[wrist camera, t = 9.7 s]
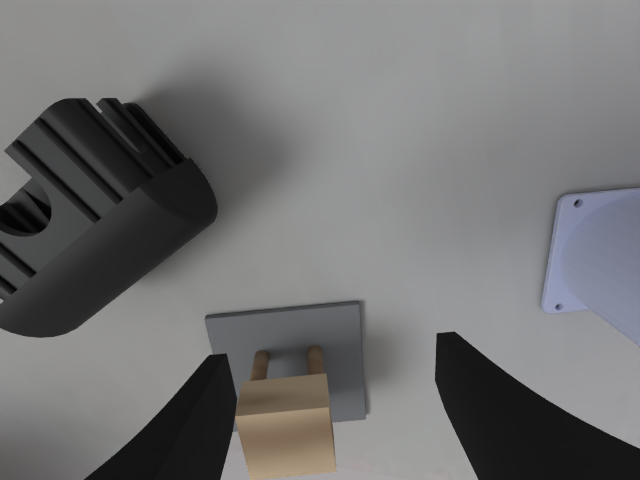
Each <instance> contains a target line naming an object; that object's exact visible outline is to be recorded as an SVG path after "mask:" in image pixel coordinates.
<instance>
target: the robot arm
mask: <svg viewBox="0 0 640 480" xmlns="http://www.w3.org/2000/svg"><path fill="white" fill-rule="evenodd" d="M576 200H578V203H577V204H576V205H575V206H574V203H575V201H576ZM557 304H559V305H558V306H557V307H556V305H557ZM541 308H542V310H543V311H544V312H546V313H548V314H552V313H563V312H573V311H584V310H592V311H593V312H594V313H596V314H597V315H598V316H600V317H601V318H602V319H604V320H605V321H606V322H608V323H609V324H610V325H612V326H613V327H614V328H616V329H617V330H618V331H620V332H621V333H622V334H623V335H625V336H626V337H627V338H629V339H630V340H631V341H633V342H634V343H635V344H637V345H638V346H639V347H640V187H639V188H629V189H618V190H608V191H598V192H587V193H577V194H567V195H564V196H562V197H561V198H560V199H559V200H558V203H557V209H556V215H555V222H554V228H553V234H552V240H551V246H550V252H549V259H548V265H547V271H546V277H545V283H544V290H543V296H542V302H541ZM435 382H436V385H437V388H438V391H439V394H440V397H441V400H442V403H443V405H444V408H445V411H446V413H447V415H448V417H449V419H450V421H451V423H452V425H453V428H454V430H455V432H456V434H457V436H458V438H459V440H460V442H461V444H462V446H463V448H464V451H465V453H466V455H467V457H468V459H469V461H470V463H471V465H472V467H473V469H474V471H475V473H476V475H477V478H478V480H640V449H639V448H637V447H635V446H632V445H630V444H628V443H626V442H624V441H622V440H620V439H618V438H616V437H613V436H611V435H609V434H607V433H605V432H604V431H602V430H600V429H598V428H596V427H594V426H592V425H590V424H588V423H586V422H584V421H582V420H580V419H579V418H577V417H575V416H573V415H571V414H570V413H568V412H566V411H565V410H563V409H561V408H560V407H558V406H556V405H555V404H553V403H551V402H549V401H548V400H546V399H545V398H543V397H541V396H540V395H538V394H537V393H535V392H534V391H532V390H531V389H529V388H528V387H526V386H525V385H523V384H522V383H521V382H519V381H518V380H516V379H515V378H513V377H512V376H511V375H509V374H508V373H506V372H505V371H504V370H502V369H501V368H500V367H498V366H497V365H496V364H495V363H493V362H492V361H491V360H489V359H488V358H487V357H486V356H484V355H483V354H482V353H481V352H479V351H478V350H477V349H476V348H474V347H473V346H472V345H471V344H469V343H468V342H467V341H466V340H464V339H463V338H462V337H461V336H460V335H458V334H457V333H456V332H446V333H437V341H436V368H435ZM236 406H237V395H236V391H235V386H234V382H233V378H232V373H231V369H230V365H229V361H228V356H227V353H224V354H214V355H209V356H208V357H207V358H206V359H205V360H204V361H203V363H202V364H201V365H200V366H199V367H198V368H197V370H196V371H195V372H194V373H193V374H192V376H191V377H190V378H189V379H188V380H187V382H186V383H185V384H184V385H183V386H182V387H181V389H180V390H179V391H178V392H177V393H176V394H175V395H174V396H173V398H172V399H171V400H170V401H169V402H168V403H167V404H166V405H165V406H164V408H163V409H162V410H161V411H160V412H159V413H158V414H157V415H156V416H155V417H154V418H153V419H152V420H151V421H150V422H149V423H148V424H147V425H146V426H145V427H144V428H143V429H142V430H141V431H140V432H139V433H138V434H137V435H136V436H135V437H134V438H133V439H132V440H131V441H129V442H128V443H127V444H126V445H125V446H124V447H123V448H122V449H121V450H119V451H118V452H117V453H116V454H115V455H114V456H113V457H111V458H110V459H109V460H108V461H106V462H105V463H104V464H103V465H102V466H100V467H99V468H98V469H97V470H95V471H94V472H93V473H92V474H90V475H89V476H88V477H87V478H85V479H84V480H220V479H221V475H222V471H223V467H224V463H225V460H226V456H227V452H228V448H229V444H230V440H231V436H232V432H233V428H234V421H235V414H236Z"/></svg>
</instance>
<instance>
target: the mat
mask: <svg viewBox="0 0 640 480" xmlns="http://www.w3.org/2000/svg"><path fill="white" fill-rule="evenodd" d="M205 323H206V327H207V331H208V335H209V339H210V343H211V347H212V351H213V355H214V354H224V353H227V356H228V361H229V365H230V369H231V373H232V378H233V382H234V386H235V391H236V395H237V404H238V400H239V395H240V391H241V387H242V382H245V381H250V376H251V371H252V366H253V362H254V357H255V353H256V352H257V351H259V350H265V351H267V352H268V353H269V355H270V357H269V364H268V371H267V378H266V379H275V378H285V377H295V376H305V375H308V348H309V347H310V346H311V345H319V346H320V347H321V348H322V353H323V371H324V374H325V373H326V374H327V383H328V391H329V400H330V408H331V417H332V422H342V421H353V420H363V419H366V413H365V396H364V378H363V361H362V344H361V327H360V310H359V302H358V301H354V302H344V303H333V304H323V305H312V306H302V307H291V308H281V309H271V310H260V311H250V312H239V313H229V314H218V315H208V316H206V317H205ZM236 408H237V406H236ZM235 431H238V428H237V424H236V420H235V421H234V428H233V432H235Z"/></svg>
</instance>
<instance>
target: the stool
mask: <svg viewBox="0 0 640 480" xmlns="http://www.w3.org/2000/svg"><path fill="white" fill-rule="evenodd" d="M269 357H270V355H269V353H268V352H267V351H265V350H259V351H257V352H256V353H255V357H254V362H253V366H252V371H251V376H250V381H245V382H242V387H241V391H240V395H239V400H238V404H237V408H236V414H235V420H236V424H237V428H238V432H239V436H240V440H241V444H242V448H243V452H244V456H245V460H246V464H247V467H248V471H249V476H250V479H251V480H259V479H269V478H279V477H290V476H299V475H310V474H320V473H330V472H336V461H335V447H334V434H333V426H332V417H331V408H330V400H329V391H328V383H327V374H326V373H325V374H324V371H323V353H322V348H321V347H320V346H319V345H311V346H310V347H309V348H308V375H305V376H295V377H285V378H275V379H266V378H267V371H268V364H269Z"/></svg>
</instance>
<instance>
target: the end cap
mask: <svg viewBox="0 0 640 480" xmlns="http://www.w3.org/2000/svg"><path fill="white" fill-rule="evenodd" d="M96 105H97V106H98V107H99V108H100V109H101V110H102V111H103V112H102V113H101V114H100V113H99V112H98V111H97V110H96V109H95V108H94V107H93V106H92V104H91V103H90V102H89V101H88V100H86V99H85V98H69V99H63V100H60V101H58V102H56V103H54V104H53V105H51V106H50V107H48V108H47V109H46V110H45V111H44V112H43V113H42V114H41V115H40V116H39V117H38V118H37V119H36V120H35V121H34V122H33V123H32V124H31V125H30V126H29V127H28V128H27V129H26V130H25V131H24V132H23V133H22V134H21V135H20V136H19V137H18V138H17V139H16V140H15V141H14V142H13V143H12V144H10V145H9V146H8V147H7V148H6V149H5V150H4V151H5V152H6V153H7V154H8V155H9V156H10V157H11V158H12V159H13V160H14V161H15V162H16V163H18V164H19V165H20V166H21V167H22V168H23V169H24V170H25V171H26V172H27V173H28V174H29V175H30V176H32V177H33V178H31V179H30V180H29V181H28V182H27V183H26V184H25V185H24V186H23V187H22V188H21V189H20V190H19V191H18V192H17V193H15V194H14V195H13V196H12V197H11V198H10V199H9V200H8V201H7V202H6V203H4V204H3V205H1V206H0V298H1V299H2V300H3V301H4V302H2V303H1V304H0V328H1V329H4V330H6V331H8V332H11V333H15V334H18V335H22V336H28V337H38V338H42V337H55V336H59V335H63V334H66V333H68V332H70V331H72V330H75V329H77V328H78V327H79V326H80V325H82V324H83V323H84V322H86V321H87V320H88V319H89V318H91V317H92V316H93V315H95V314H96V313H97V312H98V311H100V310H101V309H102V308H104V307H105V306H106V305H107V304H109V303H110V302H111V301H113V300H114V299H115V298H116V297H118V296H119V295H120V294H121V293H123V292H124V291H125V290H127V289H128V288H129V287H130V286H132V285H133V284H134V283H136V282H137V281H138V280H139V279H141V278H142V277H143V276H145V275H146V274H147V273H148V272H150V271H151V270H152V269H154V268H155V267H156V266H157V265H159V264H160V263H161V262H163V261H164V260H165V259H166V258H168V257H169V256H170V255H172V254H173V253H174V252H175V251H177V250H178V249H179V248H181V247H182V246H183V245H184V244H186V243H187V242H188V241H190V240H191V239H192V238H193V237H195V236H196V235H197V234H199V233H200V232H201V231H202V230H204V229H205V228H206V227H208V226H209V225H210V224H211V223H213V222H214V221H215V218H216V216H217V209H218V207H217V202H216V198H215V195H214V193H213V190H212V188H211V186H210V184H209V183H208V181H207V179H206V178H205V176H204V175H203V173H202V172H201V170H200V169H199V168H198V166H197V165H196V164H195V163H194V162H193V160H192V159H191V158H189V159H186V158H185V157H184V155H183V154H182V153H181V152H180V151H179V150H178V149H177V147H176V146H175V145H174V144H173V143H172V142H171V141H170V140H169V138H168V137H167V136H166V135H165V134H164V133H163V132H162V131H161V129H160V128H159V127H158V126H157V125H156V124H155V123H154V122H153V120H152V119H151V118H150V117H149V116H148V115H147V114H146V113H145V111H144V110H143V109H142V108H141V107H139V106H138V105H137V104H134V103H124V104H121V103H120V102H119V101H118V99H117V98H102V99H101V100H100V101H99V102H98V103H97V104H96Z"/></svg>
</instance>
